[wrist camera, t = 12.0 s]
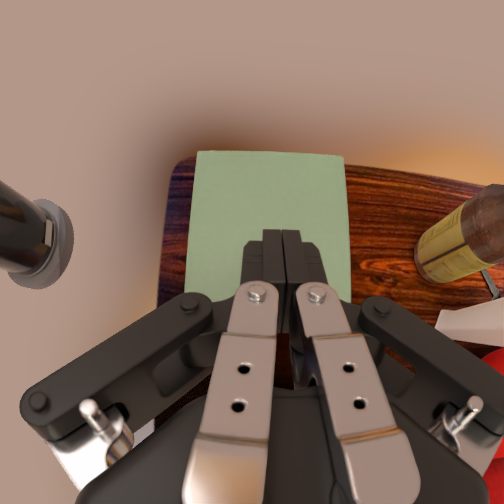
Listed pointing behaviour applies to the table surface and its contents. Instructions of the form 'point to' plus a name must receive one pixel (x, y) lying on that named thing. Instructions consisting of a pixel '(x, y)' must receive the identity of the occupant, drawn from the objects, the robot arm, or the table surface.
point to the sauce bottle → (464, 239)
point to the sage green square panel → (264, 214)
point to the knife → (491, 284)
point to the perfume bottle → (475, 323)
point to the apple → (495, 481)
